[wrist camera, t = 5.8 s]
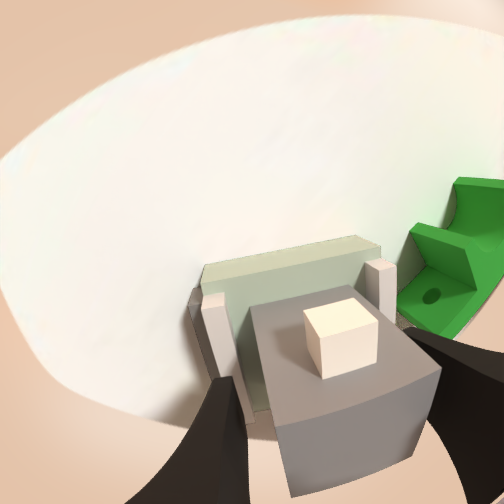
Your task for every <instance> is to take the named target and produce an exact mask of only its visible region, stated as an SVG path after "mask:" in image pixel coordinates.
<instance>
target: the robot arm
mask: <svg viewBox="0 0 504 504" xmlns="http://www.w3.org/2000/svg"><path fill="white" fill-rule="evenodd" d="M401 331H403V332H404V333H405V334H406V335H407V336H408V337H409V338H410V339H411V340H412V341H414V342H415V343H416V344H417V345H418V346H419V347H420V348H421V349H422V350H423V351H424V352H425V353H427V354H428V355H429V356H430V357H431V358H432V359H433V360H434V361H435V362H436V363H437V364H438V365H439V366H440V367H441V368H442V369H441V373H440V377H439V381H438V385H437V388H436V392H435V395H434V398H433V401H432V405H431V408H430V411H429V414H428V416H427V420H428V422H429V423H430V424H431V426H432V427H433V428H434V430H435V431H436V432H437V434H438V435H439V437H440V439H441V440H442V442H443V444H444V446H445V447H446V449H447V451H448V453H449V455H450V457H451V460H452V461H453V464H454V466H455V468H456V470H457V473H458V475H459V478H460V480H461V483H462V486H463V489H464V492H465V496H466V499H467V503H468V504H490V503H492V502H493V501H494V500H495V499H497V498H498V497H499V496H500V495H501V494H502V493H503V492H504V353H501V352H494V351H490V350H485V349H481V348H477V347H474V346H470V345H467V344H464V343H460V342H457V341H454V340H451V339H449V338H446V337H443V336H440V335H437V334H434V333H431V332H428V331H425V330H422V329H419V328H416V327H409V328H407V329H404V330H401ZM125 504H250V495H249V473H248V438H247V431H246V424H245V417H244V413H243V410H242V406H241V403H240V400H239V397H238V393H237V390H236V387H235V383H234V380H233V377H232V376H226V377H219V378H214V379H213V381H212V383H211V385H210V388H209V390H208V393H207V395H206V397H205V399H204V402H203V404H202V406H201V408H200V410H199V412H198V414H197V416H196V417H195V419H194V421H193V423H192V425H191V427H190V428H189V430H188V432H187V433H186V435H185V437H184V438H183V440H182V442H181V443H180V444H179V446H178V447H177V449H176V450H175V452H174V453H173V454H172V456H171V457H170V458H169V460H168V461H167V462H166V463H165V465H164V466H163V467H162V469H160V471H159V472H158V473H157V474H156V475H155V476H154V478H152V479H151V480H150V482H148V483H147V484H146V486H145V487H143V488H142V489H141V490H140V491H139V492H138V493H137V494H135V496H133V497H132V498H131V499H130V500H128V501H127V502H126V503H125ZM497 504H504V498H503V499H501V500H500V501H499V502H498V503H497Z"/></svg>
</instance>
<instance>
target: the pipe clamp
mask: <svg viewBox="0 0 504 504" xmlns="http://www.w3.org/2000/svg"><path fill="white" fill-rule="evenodd" d="M453 185H454V188H455V191H456V197H457V207H456V213H455V216H454V219H453V221H452V223H451V224H450V226H449V227H448V228H447V229H446V230H445V229H441V228H437V227H433V226H430V225H426V224H422V223H417V224H416V225H415V226H414V227H413V228H412V229H411V230H410V233H411V235H412V237H413V239H414V241H415V243H416V245H417V247H418V249H419V251H420V253H421V255H422V257H423V259H424V261H425V263H426V265H427V266H426V267H425V268H424V269H423V270H422V271H421V272H420V273H419V274H418V275H417V276H416V277H415V278H414V279H413V280H412V281H411V282H410V283H409V284H408V285H407V286H406V287H405V288H404V289H403V290H402V291H401V292H400V293H399V294H398V295H397V296H396V308H397V310H398V312H399V313H400V314H401V315H402V316H404V317H405V318H406V319H407V320H409V321H410V322H411V323H412V324H413V325H415V326H416V327H417V328H419V329H422V330H425V331H428V332H431V333H434V334H437V335H440V336H443V337H446V338H449V339H451V340H452V339H453V338H454V337H455V336H456V335H457V334H458V333H459V332H460V330H461V329H462V328H463V327H464V326H465V325H466V324H467V322H468V321H469V320H470V319H471V318H472V316H473V315H474V314H475V313H476V312H477V310H478V309H479V308H480V307H481V305H482V304H483V303H484V301H485V300H486V299H487V298H488V296H489V295H490V294H491V292H492V291H493V289H494V288H495V287H496V285H497V284H498V282H499V281H500V280H501V278H502V277H503V275H504V180H498V179H485V178H470V177H458V178H457V180H456V181H455V182H454V183H453Z"/></svg>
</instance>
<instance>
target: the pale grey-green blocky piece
mask: <svg viewBox="0 0 504 504" xmlns="http://www.w3.org/2000/svg"><path fill="white" fill-rule="evenodd" d="M347 284H349V285H350V286H351V287H352V288H354V289H355V290H356V291H357V292H358V293H359V294H361V295H362V296H363V297H364V298H365V299H366V300H367V301H369V302H370V303H371V304H372V305H373V306H374V307H375V308H377V309H378V310H379V311H380V312H381V313H382V314H383V315H385V316H386V317H387V318H388V319H389V320H390V321H391V322H392V323H394V324H395V320H396V296H397V266H396V265H394V264H392V263H390V262H388V261H386V260H384V259H382V258H381V246H379V245H377V244H375V243H372V242H370V241H368V240H365V239H363V238H361V237H358V236H356V235H353V236H348V237H343V238H338V239H333V240H328V241H323V242H318V243H313V244H308V245H303V246H298V247H293V248H288V249H283V250H278V251H272V252H267V253H262V254H257V255H252V256H247V257H242V258H237V259H232V260H227V261H222V262H217V263H212V264H206V265H205V267H204V271H203V275H202V279H201V283H200V285H201V287H198V288H193V291H192V294H191V297H190V301H189V304H188V308H189V312H190V315H191V318H192V322H193V325H194V328H195V332H196V335H197V338H198V341H199V345H200V348H201V351H202V354H203V357H204V360H205V363H206V366H207V369H208V372H209V375H210V378H211V381H213V379H214V378H219V377H226V376H232V377H233V380H234V383H235V387H236V390H237V393H238V397H239V400H240V403H241V406H242V410H243V413H244V417H245V424H252V423H255V416H254V412H257V411H262V410H268V409H271V407H270V403H269V398H268V393H267V388H266V384H265V379H264V374H263V369H262V364H261V360H260V355H259V350H258V345H257V340H256V335H255V330H254V325H253V320H252V315H251V310H250V306H254V305H259V304H264V303H269V302H273V301H278V300H283V299H287V298H292V297H296V296H301V295H305V294H309V293H314V292H318V291H322V290H326V289H331V288H335V287H339V286H343V285H347Z"/></svg>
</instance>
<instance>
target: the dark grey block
mask: <svg viewBox="0 0 504 504" xmlns="http://www.w3.org/2000/svg"><path fill="white" fill-rule="evenodd" d="M250 310H251V315H252V320H253V325H254V330H255V335H256V340H257V345H258V350H259V355H260V360H261V364H262V369H263V374H264V379H265V384H266V388H267V393H268V398H269V403H270V407H271V412H272V417H273V421H274V426H275V430H276V435H277V439H278V443H279V448H280V452H281V456H282V461H283V465H284V469H285V473H286V478H287V482H288V487H289V491H290V495H291V498H293V497H298V496H302V495H307V494H311V493H315V492H318V491H322V490H326V489H329V488H333V487H336V486H339V485H342V484H345V483H348V482H351V481H354V480H357V479H360V478H362V477H365V476H368V475H370V474H373V473H375V472H378V471H380V470H383V469H385V468H387V467H389V466H392V465H394V464H396V463H398V462H400V461H403V460H405V459H407V458H409V457H411V456H412V454H413V452H414V450H415V447H416V445H417V443H418V440H419V438H420V435H421V433H422V430H423V428H424V425H425V422H426V419H427V416H428V414H429V411H430V408H431V405H432V401H433V398H434V395H435V392H436V388H437V385H438V381H439V377H440V373H441V369H442V368H441V367H440V366H439V365H438V364H437V363H436V362H435V361H434V360H433V359H432V358H431V357H430V356H429V355H428V354H427V353H425V352H424V351H423V350H422V349H421V348H420V347H419V346H418V345H417V344H416V343H415V342H414V341H412V340H411V339H410V338H409V337H408V336H407V335H406V334H405V333H404V332H403V331H401V330H400V329H399V328H398V327H397V326H396V325H395V324H394V323H392V322H391V321H390V320H389V319H388V318H387V317H386V316H385V315H383V314H382V313H381V312H380V311H379V310H378V309H377V308H375V307H374V306H373V305H372V304H371V303H370V302H369V301H367V300H366V299H365V298H364V297H363V296H362V295H361V294H359V293H358V292H357V291H356V290H355V289H354V288H352V287H351V286H350V285H349V284H347V285H343V286H339V287H335V288H331V289H326V290H322V291H318V292H314V293H309V294H305V295H301V296H296V297H292V298H287V299H283V300H278V301H273V302H269V303H264V304H259V305H254V306H250Z"/></svg>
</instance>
